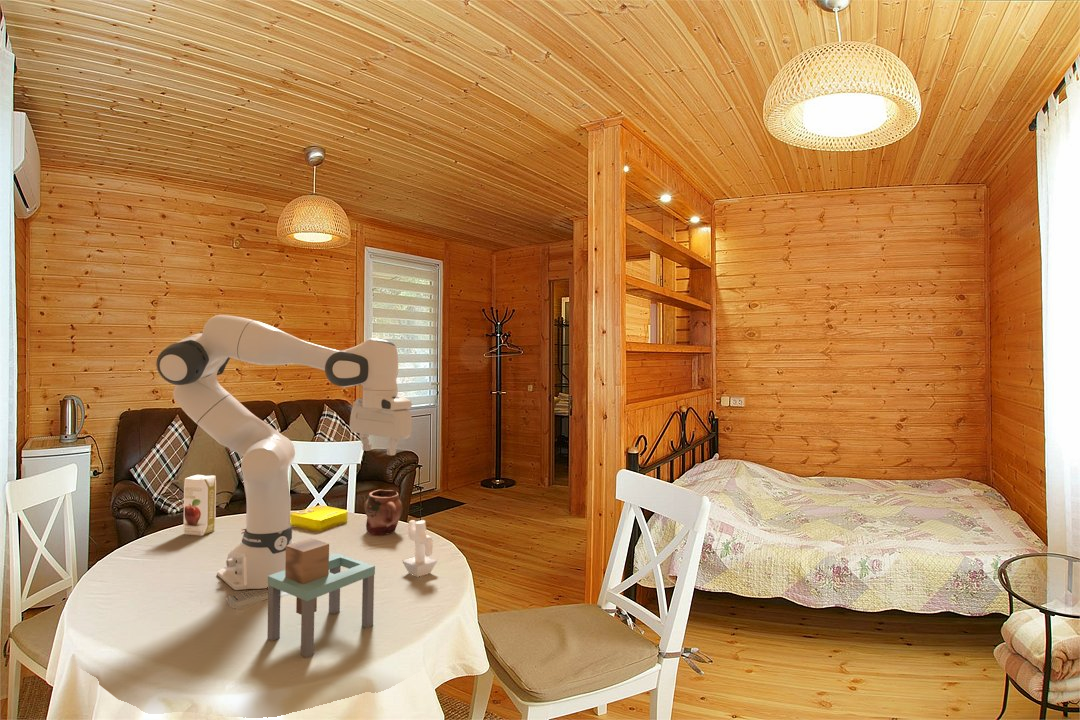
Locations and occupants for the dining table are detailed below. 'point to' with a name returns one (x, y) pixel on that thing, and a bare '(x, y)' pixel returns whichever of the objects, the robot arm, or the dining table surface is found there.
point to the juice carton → (199, 505)
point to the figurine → (420, 550)
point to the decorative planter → (382, 512)
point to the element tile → (318, 518)
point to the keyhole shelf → (318, 588)
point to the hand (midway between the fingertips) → (378, 452)
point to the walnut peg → (306, 564)
